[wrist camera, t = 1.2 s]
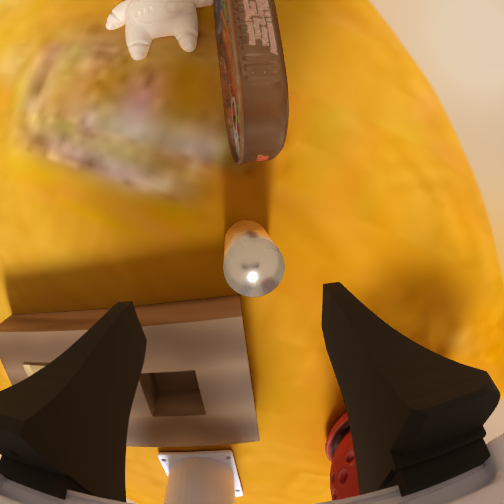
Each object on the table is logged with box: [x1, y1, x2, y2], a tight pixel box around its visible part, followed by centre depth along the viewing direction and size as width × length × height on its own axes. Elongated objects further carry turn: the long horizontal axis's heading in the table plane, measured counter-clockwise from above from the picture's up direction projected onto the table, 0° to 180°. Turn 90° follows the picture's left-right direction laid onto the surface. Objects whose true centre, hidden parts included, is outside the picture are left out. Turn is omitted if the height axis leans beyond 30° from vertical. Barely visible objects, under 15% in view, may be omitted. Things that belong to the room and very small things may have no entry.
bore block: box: [0, 295, 260, 447], centre depth 23 cm, size 12×22×4 cm, turn 96°
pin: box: [223, 220, 284, 297], centre depth 20 cm, size 3×3×7 cm
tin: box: [214, 0, 289, 165], centre depth 17 cm, size 15×3×8 cm, turn 6°
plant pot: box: [326, 412, 359, 501], centre depth 23 cm, size 13×13×12 cm
